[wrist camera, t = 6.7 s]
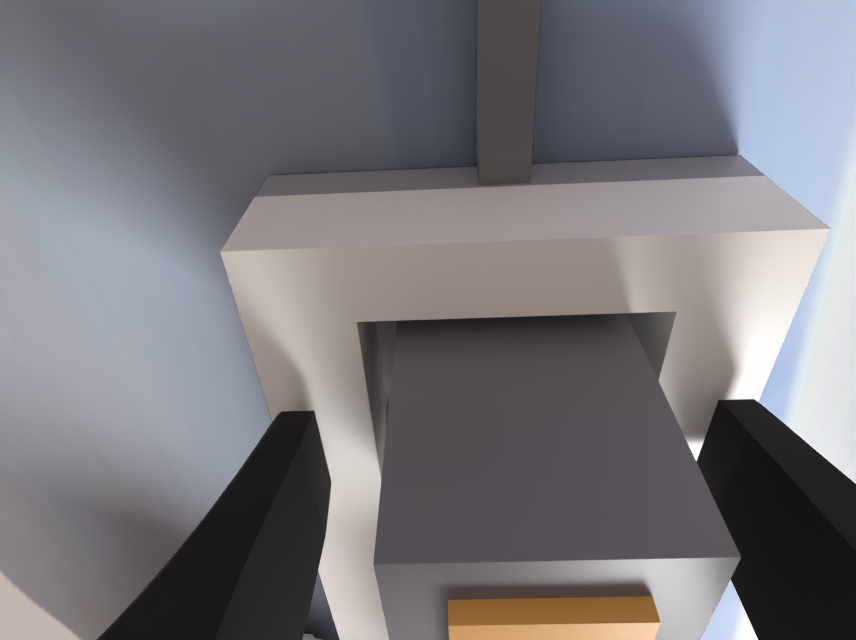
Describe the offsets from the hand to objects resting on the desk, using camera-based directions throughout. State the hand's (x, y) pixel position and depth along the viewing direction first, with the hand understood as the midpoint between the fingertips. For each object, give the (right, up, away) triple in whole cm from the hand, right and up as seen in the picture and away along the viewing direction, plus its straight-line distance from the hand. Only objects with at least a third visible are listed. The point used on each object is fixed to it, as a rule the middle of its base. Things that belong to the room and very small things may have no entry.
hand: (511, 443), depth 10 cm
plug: (0, +2, +2) cm, 2 cm away
